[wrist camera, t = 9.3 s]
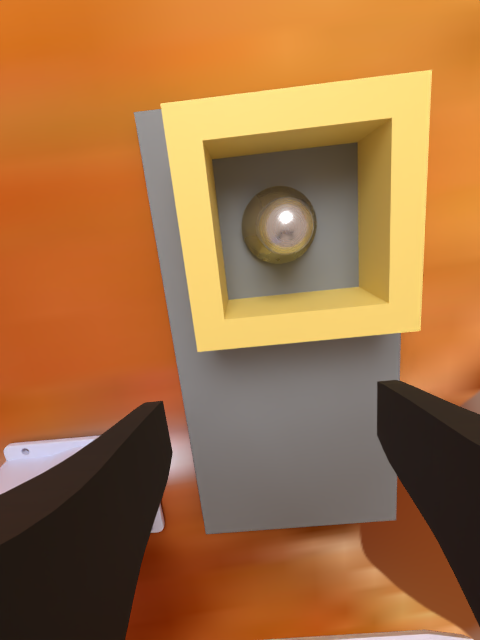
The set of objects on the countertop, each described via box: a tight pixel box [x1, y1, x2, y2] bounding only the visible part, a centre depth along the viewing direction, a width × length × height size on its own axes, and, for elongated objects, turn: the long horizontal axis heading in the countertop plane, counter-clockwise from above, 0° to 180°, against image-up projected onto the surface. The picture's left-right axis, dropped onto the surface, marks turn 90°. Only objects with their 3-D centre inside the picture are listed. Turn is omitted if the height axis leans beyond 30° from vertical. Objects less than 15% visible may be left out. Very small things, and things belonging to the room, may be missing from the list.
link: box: [161, 70, 432, 352], centre depth 16 cm, size 10×10×4 cm
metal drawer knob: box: [242, 186, 317, 264], centre depth 15 cm, size 4×4×4 cm
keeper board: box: [134, 109, 401, 534], centre depth 20 cm, size 13×26×1 cm, turn 6°
